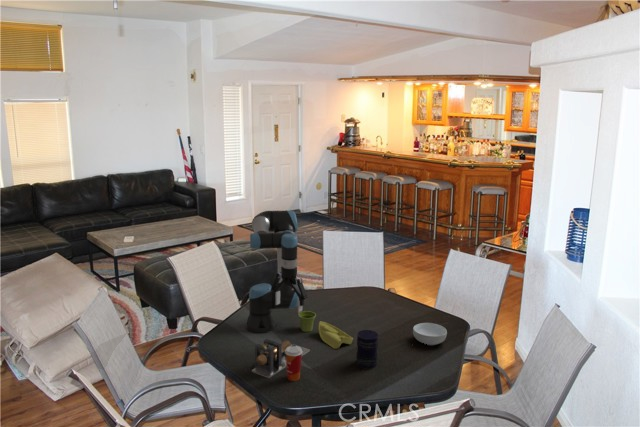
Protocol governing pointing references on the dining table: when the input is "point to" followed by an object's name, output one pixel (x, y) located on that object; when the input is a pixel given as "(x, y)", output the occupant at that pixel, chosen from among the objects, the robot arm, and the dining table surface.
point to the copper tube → (264, 357)
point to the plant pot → (306, 320)
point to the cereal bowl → (429, 333)
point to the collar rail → (273, 364)
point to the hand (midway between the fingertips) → (288, 307)
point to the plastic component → (333, 335)
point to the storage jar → (367, 349)
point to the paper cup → (293, 362)
